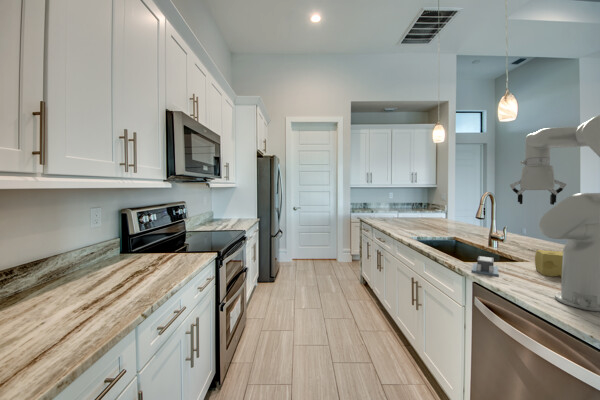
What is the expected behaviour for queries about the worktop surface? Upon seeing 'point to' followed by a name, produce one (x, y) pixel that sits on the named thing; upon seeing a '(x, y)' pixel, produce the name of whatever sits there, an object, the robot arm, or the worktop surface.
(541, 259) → the cheese
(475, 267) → the grey piece
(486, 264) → the block
